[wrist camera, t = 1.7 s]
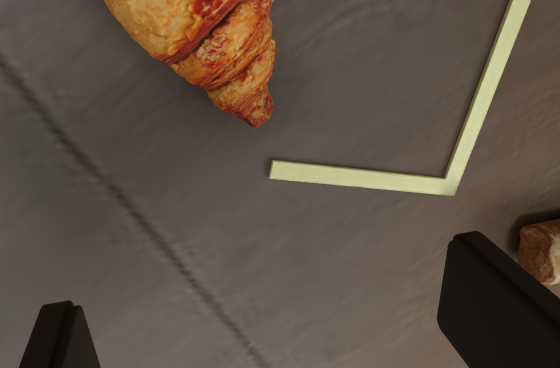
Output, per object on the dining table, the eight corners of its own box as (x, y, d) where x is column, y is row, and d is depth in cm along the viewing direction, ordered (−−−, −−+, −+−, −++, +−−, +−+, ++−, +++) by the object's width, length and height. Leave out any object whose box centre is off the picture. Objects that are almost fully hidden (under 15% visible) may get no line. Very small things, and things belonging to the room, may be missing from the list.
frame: (268, 176, 35) (269, 178, 35) (361, -280, 24) (364, -284, 24) (451, 194, 40) (454, 196, 39) (597, -182, 29) (602, -183, 29)
